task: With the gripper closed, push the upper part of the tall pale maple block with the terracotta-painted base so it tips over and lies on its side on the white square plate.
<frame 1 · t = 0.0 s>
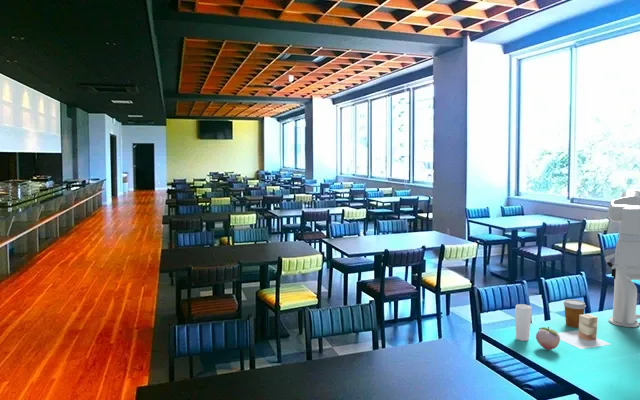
hand: (628, 280, 203), 31 cm above the table, tool pointing down, fingers open, 9 cm apart
decorative fruit: (547, 350, 211), on the table
drinking glass: (522, 339, 223), on the table
disposable coffee cup: (573, 326, 240), on the table
white square plate: (579, 340, 222), on the table
maple block: (587, 338, 223), point 1 cm above the table, touching white square plate
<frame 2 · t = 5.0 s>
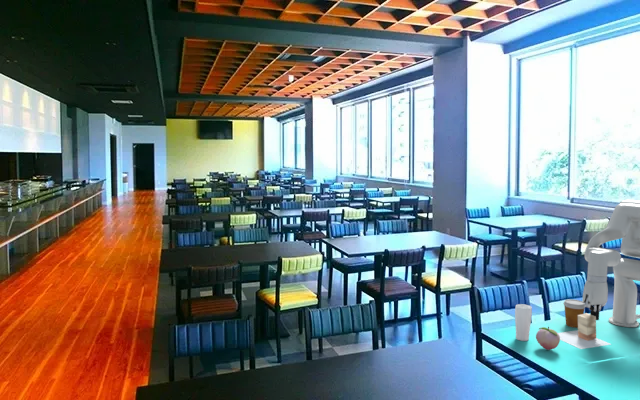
hand: (594, 319, 223), 9 cm above the table, tool pointing down, fingers closed
maple block: (587, 337, 223), point 1 cm above the table, tilted 6°, touching white square plate
everything else where it was.
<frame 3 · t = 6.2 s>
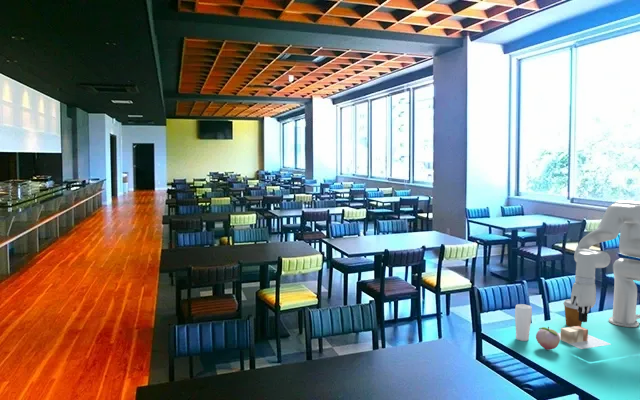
hand: (582, 321, 221), 9 cm above the table, tool pointing down, fingers closed
maple block: (583, 333, 222), point 3 cm above the table, tilted 90°, touching white square plate
everything else where it was.
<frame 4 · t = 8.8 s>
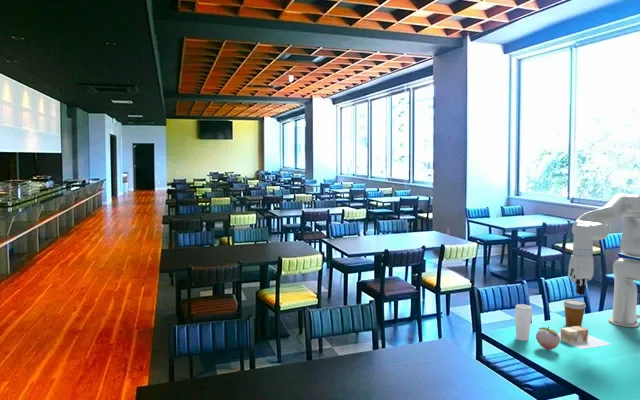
hand: (580, 293, 220), 21 cm above the table, tool pointing down, fingers closed
nothing on the table moved.
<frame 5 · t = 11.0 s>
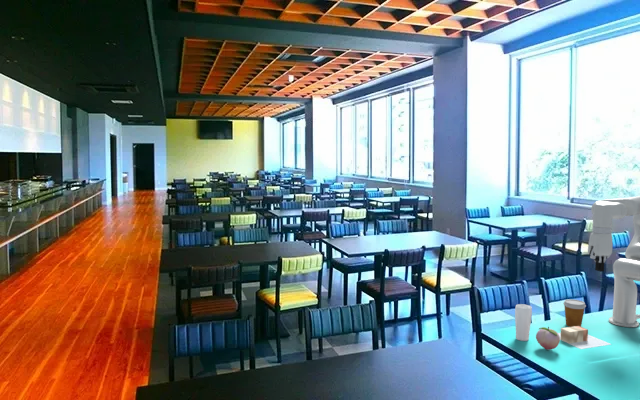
hand: (599, 270, 229), 29 cm above the table, tool pointing down, fingers closed
nothing on the table moved.
at the end: maple block tilted 90°; maple block inside the target area (4.5 cm from its centre), point 3.1 cm above the table; maple block touching white square plate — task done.
